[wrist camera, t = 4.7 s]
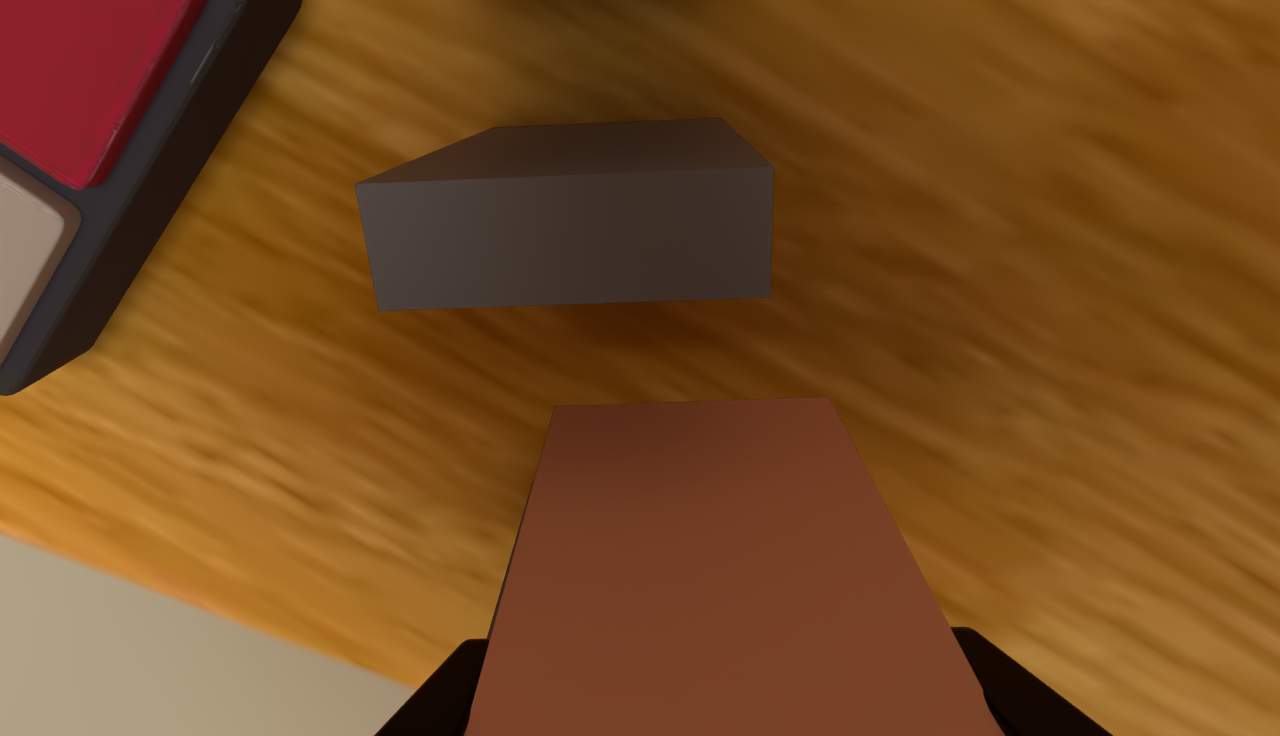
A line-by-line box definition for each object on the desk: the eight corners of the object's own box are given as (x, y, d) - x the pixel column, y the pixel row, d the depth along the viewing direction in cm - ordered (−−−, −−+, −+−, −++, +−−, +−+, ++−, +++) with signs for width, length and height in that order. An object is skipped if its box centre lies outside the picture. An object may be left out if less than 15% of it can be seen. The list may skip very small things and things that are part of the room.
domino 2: (828, 397, 14) (1044, 806, 6) (824, 473, 14) (1015, 930, 7) (554, 406, 14) (441, 816, 6) (561, 481, 14) (466, 937, 7)
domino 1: (720, 118, 16) (773, 166, 9) (720, 192, 17) (770, 298, 9) (492, 127, 16) (354, 183, 9) (500, 201, 17) (378, 311, 10)
